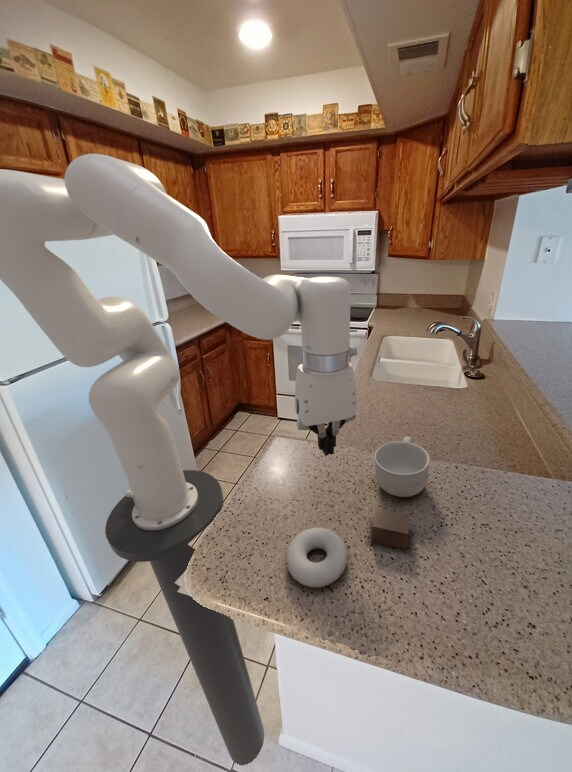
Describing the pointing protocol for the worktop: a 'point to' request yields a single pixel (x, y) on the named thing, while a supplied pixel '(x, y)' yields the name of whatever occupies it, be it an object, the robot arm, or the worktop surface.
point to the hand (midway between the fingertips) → (326, 450)
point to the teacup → (402, 467)
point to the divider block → (390, 529)
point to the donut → (317, 571)
